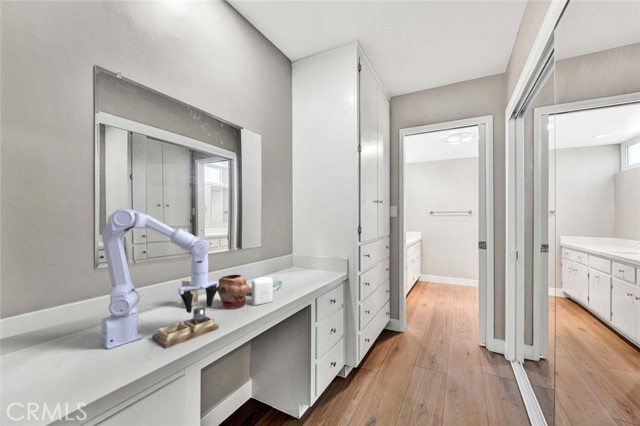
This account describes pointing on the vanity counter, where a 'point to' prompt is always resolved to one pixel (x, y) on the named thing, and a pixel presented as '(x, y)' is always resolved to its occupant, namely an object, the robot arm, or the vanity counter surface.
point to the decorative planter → (232, 291)
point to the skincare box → (195, 293)
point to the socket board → (183, 332)
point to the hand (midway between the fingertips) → (199, 309)
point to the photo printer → (262, 290)
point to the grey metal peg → (198, 315)
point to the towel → (275, 287)
